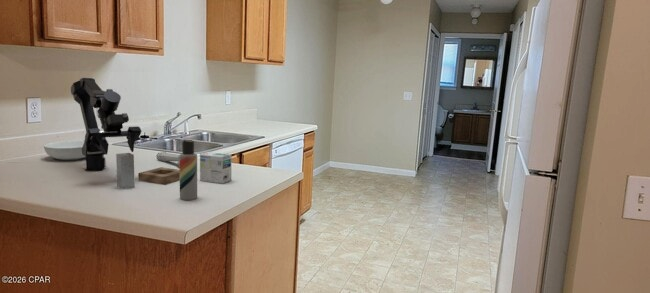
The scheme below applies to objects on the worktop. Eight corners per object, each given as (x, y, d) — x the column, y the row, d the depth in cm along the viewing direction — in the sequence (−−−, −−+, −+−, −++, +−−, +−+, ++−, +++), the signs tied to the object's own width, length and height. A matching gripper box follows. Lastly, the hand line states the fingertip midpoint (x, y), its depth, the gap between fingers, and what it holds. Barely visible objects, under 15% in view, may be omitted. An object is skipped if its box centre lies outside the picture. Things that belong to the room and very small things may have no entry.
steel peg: (117, 186, 160) (116, 153, 158) (130, 184, 163) (129, 152, 161) (121, 188, 156) (120, 155, 155) (134, 187, 160) (133, 154, 158)
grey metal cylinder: (165, 151, 211) (192, 152, 194) (166, 165, 211) (193, 167, 194) (154, 152, 207) (181, 153, 190) (155, 166, 207) (182, 168, 190)
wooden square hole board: (138, 180, 169) (138, 173, 168) (161, 174, 180) (161, 167, 180) (164, 184, 165) (164, 176, 164) (186, 178, 176) (186, 170, 176)
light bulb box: (232, 180, 176) (232, 154, 174) (222, 184, 170) (223, 156, 168) (209, 177, 179) (209, 151, 177) (199, 180, 173) (199, 153, 171)
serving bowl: (49, 155, 209) (48, 140, 208) (98, 153, 217) (98, 140, 216) (39, 163, 190) (38, 148, 189) (94, 162, 198) (93, 147, 197)
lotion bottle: (182, 195, 151) (181, 138, 148) (198, 196, 152) (198, 138, 149) (177, 200, 146) (177, 140, 143) (195, 200, 146) (195, 141, 143)
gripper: (85, 106, 156) (96, 141, 150) (138, 105, 169) (151, 137, 163) (80, 126, 163) (90, 160, 157) (131, 123, 176) (143, 155, 170)
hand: (120, 152), depth 161 cm, fingers open, 9 cm apart
